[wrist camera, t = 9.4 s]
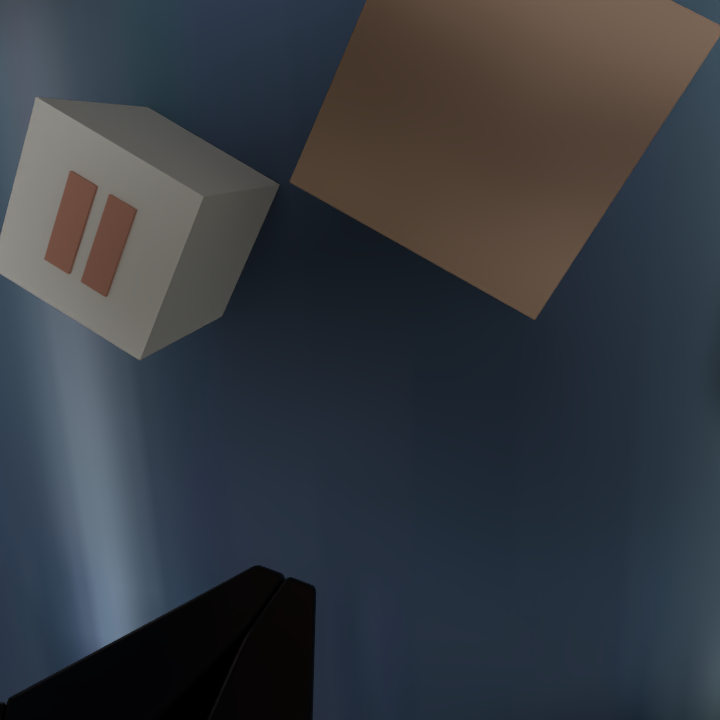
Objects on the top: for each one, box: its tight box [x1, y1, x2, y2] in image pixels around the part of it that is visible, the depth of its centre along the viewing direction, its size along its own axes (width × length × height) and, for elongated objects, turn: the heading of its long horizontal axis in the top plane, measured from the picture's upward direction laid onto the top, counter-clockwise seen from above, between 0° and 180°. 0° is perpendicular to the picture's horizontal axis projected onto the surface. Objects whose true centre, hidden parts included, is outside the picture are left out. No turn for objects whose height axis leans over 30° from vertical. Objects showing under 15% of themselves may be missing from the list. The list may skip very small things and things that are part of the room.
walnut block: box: [290, 0, 720, 320], centre depth 16 cm, size 7×7×4 cm
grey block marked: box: [0, 97, 280, 360], centre depth 19 cm, size 5×5×5 cm
